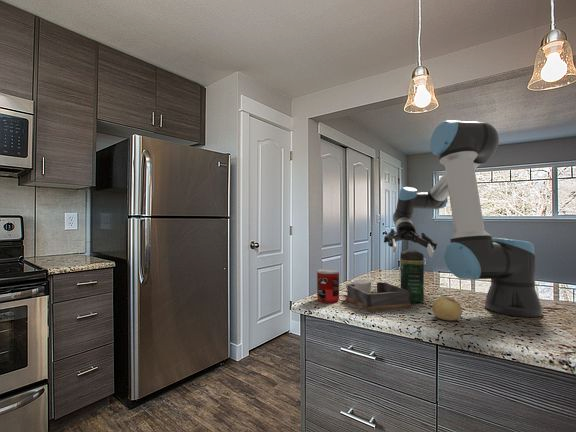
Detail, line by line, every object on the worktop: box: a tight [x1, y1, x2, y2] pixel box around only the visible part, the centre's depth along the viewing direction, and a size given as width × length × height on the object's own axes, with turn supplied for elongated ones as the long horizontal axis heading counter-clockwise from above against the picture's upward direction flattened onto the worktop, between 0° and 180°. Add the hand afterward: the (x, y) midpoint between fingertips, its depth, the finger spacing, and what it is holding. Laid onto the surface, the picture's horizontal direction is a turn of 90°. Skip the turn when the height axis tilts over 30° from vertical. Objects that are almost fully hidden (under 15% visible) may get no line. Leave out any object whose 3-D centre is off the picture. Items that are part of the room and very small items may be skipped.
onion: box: [431, 296, 463, 322], centre depth 92 cm, size 8×8×7 cm
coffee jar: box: [399, 248, 425, 304], centre depth 113 cm, size 10×8×19 cm
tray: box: [345, 281, 412, 313], centre depth 108 cm, size 16×16×6 cm
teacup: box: [345, 278, 372, 294], centre depth 121 cm, size 10×8×5 cm
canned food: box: [316, 268, 340, 304], centre depth 113 cm, size 8×8×11 cm
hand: (413, 252), depth 116 cm, fingers open, 13 cm apart
